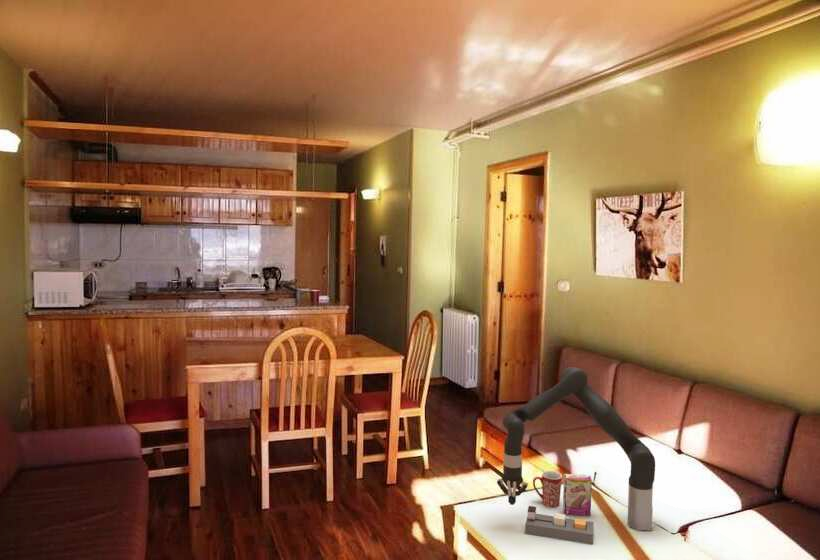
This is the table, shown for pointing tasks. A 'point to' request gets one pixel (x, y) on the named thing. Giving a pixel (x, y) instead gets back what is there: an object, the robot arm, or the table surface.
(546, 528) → the control panel
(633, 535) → the table surface
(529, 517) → the slide switch
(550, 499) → the mug
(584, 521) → the amber button
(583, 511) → the candy bar box
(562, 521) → the beige button
